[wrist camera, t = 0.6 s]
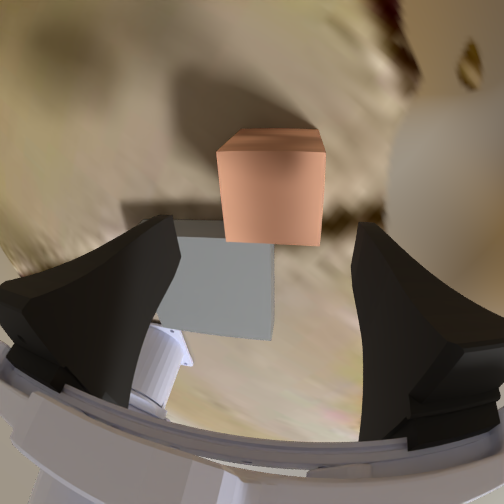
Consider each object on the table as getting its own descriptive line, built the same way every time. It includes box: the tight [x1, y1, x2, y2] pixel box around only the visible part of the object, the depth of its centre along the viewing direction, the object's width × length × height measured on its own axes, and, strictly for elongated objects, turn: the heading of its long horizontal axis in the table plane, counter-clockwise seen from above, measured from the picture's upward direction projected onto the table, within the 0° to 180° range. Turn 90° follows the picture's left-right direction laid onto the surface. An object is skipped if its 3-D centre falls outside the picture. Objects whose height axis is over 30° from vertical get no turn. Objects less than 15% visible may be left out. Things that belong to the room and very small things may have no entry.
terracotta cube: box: [216, 128, 326, 246], centre depth 16 cm, size 5×5×6 cm
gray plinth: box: [140, 219, 274, 341], centre depth 24 cm, size 11×11×2 cm
